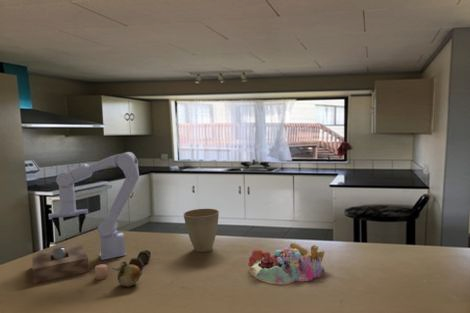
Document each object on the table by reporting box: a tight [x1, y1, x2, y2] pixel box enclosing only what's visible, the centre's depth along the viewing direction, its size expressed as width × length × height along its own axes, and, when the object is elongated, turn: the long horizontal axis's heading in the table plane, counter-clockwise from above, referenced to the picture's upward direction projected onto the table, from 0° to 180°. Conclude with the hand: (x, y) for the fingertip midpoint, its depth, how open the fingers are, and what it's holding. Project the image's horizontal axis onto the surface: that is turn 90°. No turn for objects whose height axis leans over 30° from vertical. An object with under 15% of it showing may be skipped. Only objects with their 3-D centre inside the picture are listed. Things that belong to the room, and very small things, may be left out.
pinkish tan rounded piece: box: [94, 263, 109, 281], centre depth 127 cm, size 4×4×4 cm
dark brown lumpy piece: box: [128, 249, 151, 272], centre depth 137 cm, size 6×5×15 cm
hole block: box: [32, 245, 90, 284], centre depth 137 cm, size 18×18×5 cm
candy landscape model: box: [247, 242, 325, 286], centre depth 126 cm, size 25×24×9 cm
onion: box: [112, 261, 142, 288], centre depth 120 cm, size 8×8×8 cm
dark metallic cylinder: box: [52, 246, 66, 260], centre depth 136 cm, size 4×4×8 cm
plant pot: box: [183, 208, 220, 253], centre depth 152 cm, size 15×15×16 cm
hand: (70, 233), depth 147 cm, fingers open, 7 cm apart
